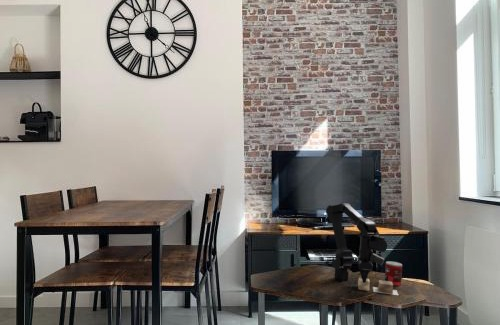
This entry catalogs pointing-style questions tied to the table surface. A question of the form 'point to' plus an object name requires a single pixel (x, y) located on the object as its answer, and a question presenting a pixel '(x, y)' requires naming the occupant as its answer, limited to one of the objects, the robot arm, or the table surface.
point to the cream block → (385, 286)
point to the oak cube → (363, 284)
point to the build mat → (383, 292)
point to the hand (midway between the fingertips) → (363, 280)
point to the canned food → (393, 272)
